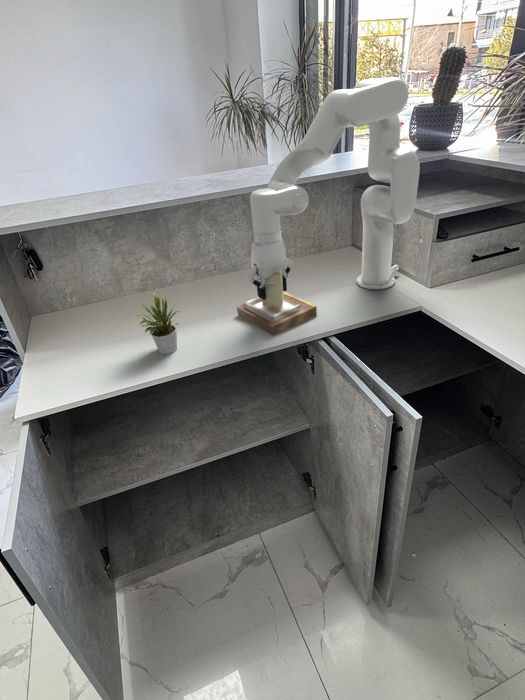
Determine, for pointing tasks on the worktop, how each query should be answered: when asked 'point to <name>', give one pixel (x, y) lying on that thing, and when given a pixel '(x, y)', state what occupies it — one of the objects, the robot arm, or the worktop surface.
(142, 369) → the worktop surface
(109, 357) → the worktop surface
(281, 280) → the skincare box
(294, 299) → the dock
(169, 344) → the house plant
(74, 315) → the worktop surface
